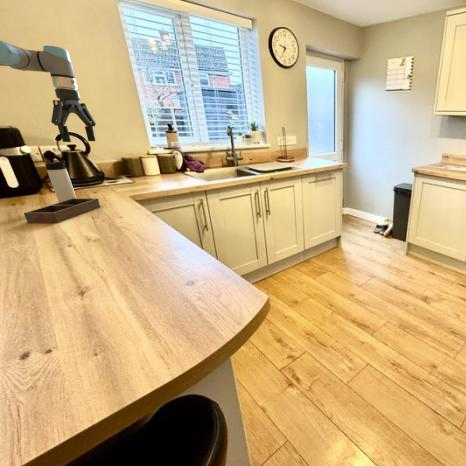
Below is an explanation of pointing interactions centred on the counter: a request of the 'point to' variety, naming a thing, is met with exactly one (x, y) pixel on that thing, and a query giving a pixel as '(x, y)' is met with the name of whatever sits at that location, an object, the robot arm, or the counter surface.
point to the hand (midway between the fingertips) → (80, 141)
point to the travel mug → (60, 181)
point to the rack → (62, 210)
